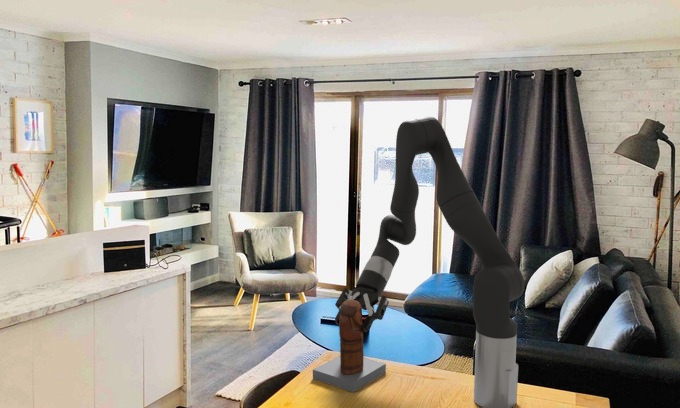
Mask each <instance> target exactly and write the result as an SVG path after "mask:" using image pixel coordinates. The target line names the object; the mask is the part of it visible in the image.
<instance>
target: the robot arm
mask: <svg viewBox="0 0 680 408" xmlns="http://www.w3.org/2000/svg"><path fill="white" fill-rule="evenodd" d="M395 140H396V141H395V142H396V143H395V177H394V180H395V181H394V186H393V192H392V196H391V202H390V208H389V209H390V213H391V214H388V215H386V216H384V218H382V219H381V223H380V225H379V234H378V239H377V241H376V242H377V243H376V246H375V247H374V250H372V251H373V252H372V254H371V256H370V258H369V259H368V261H367V262H366V263H365V266H364V267H363V270H362V272H361V274H360V276H359V277H358V280H357V282H356V284H355V288H354V289H353V290H349V289H348V287H344V288H343V290H342V292H341V294H340V295H339V297H338V298H337V300H336V302H335V304H334V305H335V307H336V308H337V309H338V312H337V314H336V316H335V318H334V322H335V324H336V325H337V326H339V318H340V308H341V305H342V303H343V302H344V301H346V300H356V301H358V302H359V303H360V304H361V307H362V311H367V315H366V317H365V319H364V321H363V322H362V327H361V329H362V330H363V333H367V332H368V331H370V330H371V328H372V325H373V323H374V321H376V320H379V321H381V320H383V319H384V315H385V313H386V310H387V308H388V306H389V303H390V301H389V299H388V298H387V297H386V296H385V295H383V293H384V291H385V289H386V286H387V284H388V282H389V280H390V278H391V276H392V273H393V269H394V267H395V265H396V263H397V261H398V258H399V257H400V250H399V248H398V247H397V245H395V244H393V243H392V242H395V243H398V244H400V245H402V246H403V245H404V246H409V245H410V244H412V243H413V241H414V240H415V238H416V235H417V224H416V208H417V205H418V200H419V194H420V193H419V192H420V188H419V185H418V184H419V183H418V181H417V179H416V177H415V174H414V171H413V164H414V162H415V161H414V160H415V159H416V156H418V155H423V154H429V155H430V157H431V159H432V160H433V163H434V164H435V167H436V172H437V181H436V182H437V184H436V202H437V203H436V204H437V205H438V208H439V210H440V212H441V214H442V215H443V217H444V219H445V221H446V223H447V225H448V226H449V228H450V230H452V231H453V232H454V233H455V234H456V235H457V236H458V237H459V238H460V239H461V240H463V241H464V243H466V245H467V246H468V247H470V249H471V250H473V252H474V253H475V255H476V256H477V258H478V259H479V262H480V264H481V265H482V268H481V269H480V270H479V271H478V272H477V273H476V274H475V276H474V281H473V287H472V310H473V311H472V314H473V319H474V321H475V327H476V329H475V350H474V351H475V353H474V354H475V356H474V357H475V358H474V380H473V381H474V382H473V384H474V385H473V401H474V403H475V404H477V405H478V406H480V407H481V408H513V407H514V406H515V405H516V404H518V403H517V402H518V382H519V381H518V379H519V364H518V363H517V362H516V358H517V357H516V356H517V338H518V337H517V336H518V324H517V321H515V319H513V318H511V316H510V303H511V302H513V301H516V300H518V299H520V297H522V295H523V293H524V291H525V284H526V283H525V280H524V276H523V273H522V272H521V270H520V268H519V266H518V265H517V264H516V262H515V261H514V259H513V257H512V256H511V255H510V254H509V251H507V249H506V247H505V246H504V245H503V243H502V241H501V239H499V236H498V235H497V233H496V231H495V229H494V227H493V225H492V223H491V222H490V220H489V218H488V217H487V215H486V213H485V210H484V208H483V206H482V205H481V202H480V201H479V199H478V197H477V196H476V194H475V193H476V192H474V190H473V188H472V186H471V185H470V183H469V181H468V180H467V178H466V176H465V174H464V172H463V169H462V168H461V165H460V164H459V161H458V159H457V158H456V155H455V152H454V150H453V147H452V146H451V143H450V141H449V138H448V135H447V134H446V132H445V130H444V128H443V125H442V124H441V122H440V121H439V120H438V119H437V118H436V117H434V116H429V115H427V116H422V117H418V118H417V117H416V118H412V119H408V120H405V121H403V122H401V123H400V125H399V127H398V128H397V132H396V139H395ZM389 240H390V241H389ZM391 241H392V242H391ZM377 304H378V305H377ZM375 305H377V307H376V310H375Z"/></svg>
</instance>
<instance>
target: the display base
mask: <svg viewBox="0 0 680 408" xmlns="http://www.w3.org/2000/svg"><path fill="white" fill-rule="evenodd" d="M386 366H387V363H384V362H381V361H378V360H375V359H371V358H367V357H364V356H363V370H362V371H360V372H358V373H355V374H348V375H345V374H342V373H341V361H340V355H339V356H337V357H335V358H332V359H331V360H329V361H327V362H324V363H323V364H321V365H319V366H317V367H314V368H313V369H312V379H313V380H316V381H318V382H322V383H324V384H328V385H331V386H334V387H335V388H339V389H342V390H345V391H348V392H351V393H354V392H357V391H358V390H360V389H361V388H364V387H365V386H366V385H368V384H369V383H371V382H373V381H375V380H376V379H378V378H379V377H381V376H382V375H384V374H386V372H387V371H386V369H387V367H386Z"/></svg>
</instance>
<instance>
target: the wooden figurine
mask: <svg viewBox="0 0 680 408" xmlns="http://www.w3.org/2000/svg"><path fill="white" fill-rule="evenodd" d="M362 325H363V309H362V307H361V304H360V303H359V302H358V301H356V300H346V301H344V302H343V303H342V305H341V308H340V318H339V325H338V327H339V328H338V335H339V341H340V343H339V346H340V347H339V354H340V355H339V356H340V361H341V373H342V374H345V375H348V374H355V373H358V372H360V371H362V370H363V357H364V332H363V330H362V329H361V327H362Z"/></svg>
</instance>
